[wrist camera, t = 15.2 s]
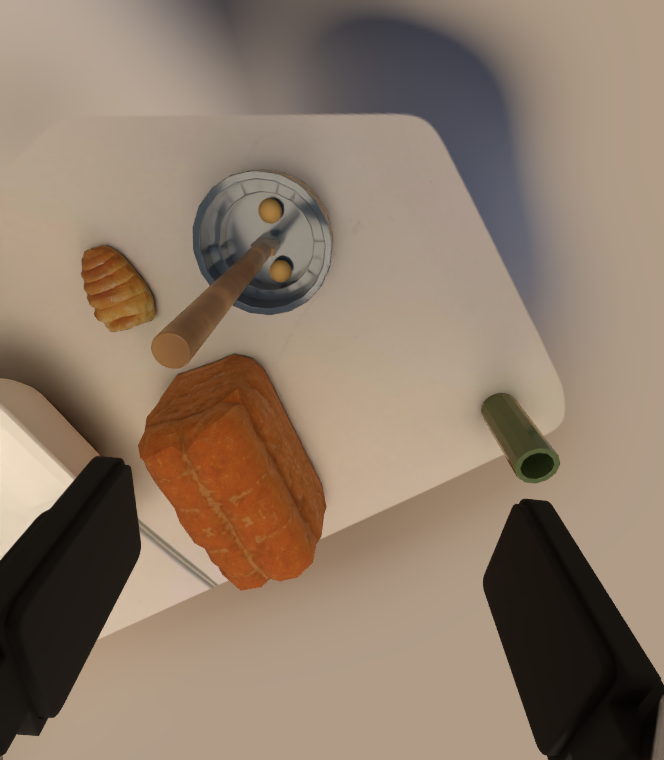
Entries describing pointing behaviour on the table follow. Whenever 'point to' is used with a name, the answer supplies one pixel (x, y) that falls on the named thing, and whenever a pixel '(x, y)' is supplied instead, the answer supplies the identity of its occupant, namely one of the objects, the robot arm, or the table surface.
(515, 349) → the table surface
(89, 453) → the baking dish
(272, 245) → the wooden dowel rod
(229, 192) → the bowl
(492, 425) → the utensil pot
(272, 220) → the chickpea
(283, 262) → the chickpea
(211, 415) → the bread
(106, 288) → the pastry
